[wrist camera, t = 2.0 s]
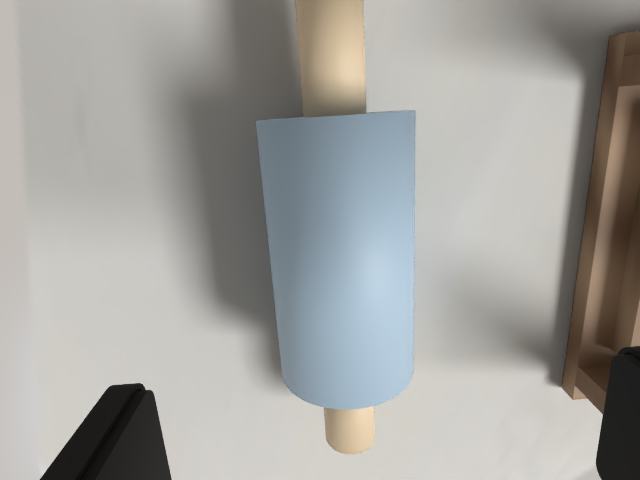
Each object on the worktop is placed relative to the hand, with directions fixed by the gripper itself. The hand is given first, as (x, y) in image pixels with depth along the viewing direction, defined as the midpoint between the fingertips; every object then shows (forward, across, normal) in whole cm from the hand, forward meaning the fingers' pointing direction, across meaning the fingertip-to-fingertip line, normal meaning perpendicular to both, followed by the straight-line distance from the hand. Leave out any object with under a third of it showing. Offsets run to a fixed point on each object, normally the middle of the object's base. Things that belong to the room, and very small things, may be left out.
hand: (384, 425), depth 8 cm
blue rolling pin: (+12, 0, -1) cm, 12 cm away
